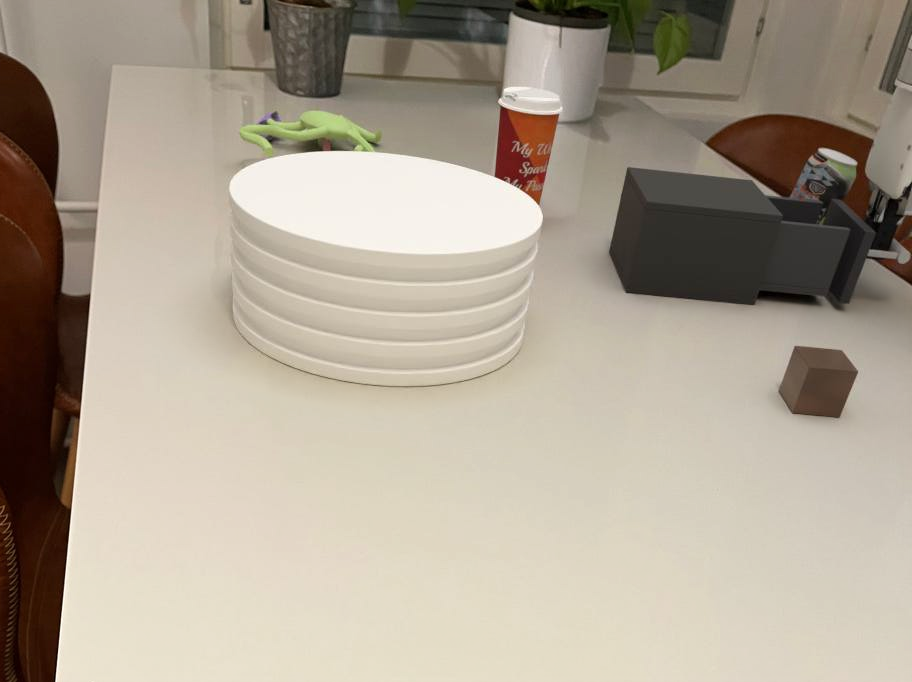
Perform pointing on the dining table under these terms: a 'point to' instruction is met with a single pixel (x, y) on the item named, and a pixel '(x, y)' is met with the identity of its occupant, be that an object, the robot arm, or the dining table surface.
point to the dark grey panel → (821, 249)
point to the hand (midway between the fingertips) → (868, 256)
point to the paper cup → (526, 137)
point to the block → (817, 381)
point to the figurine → (309, 131)
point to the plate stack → (381, 266)
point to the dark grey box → (693, 236)
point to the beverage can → (825, 178)
